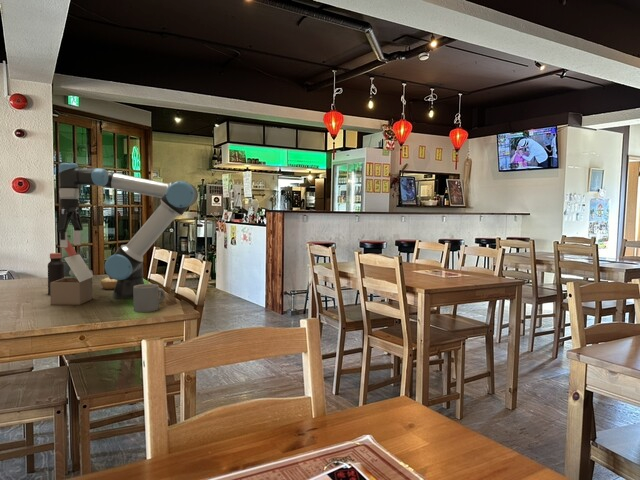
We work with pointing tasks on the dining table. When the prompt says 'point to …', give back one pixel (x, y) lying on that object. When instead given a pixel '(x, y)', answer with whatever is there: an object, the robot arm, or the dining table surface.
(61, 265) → the bottle
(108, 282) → the pastry
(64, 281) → the carton
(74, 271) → the lid
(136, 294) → the coffee mug
